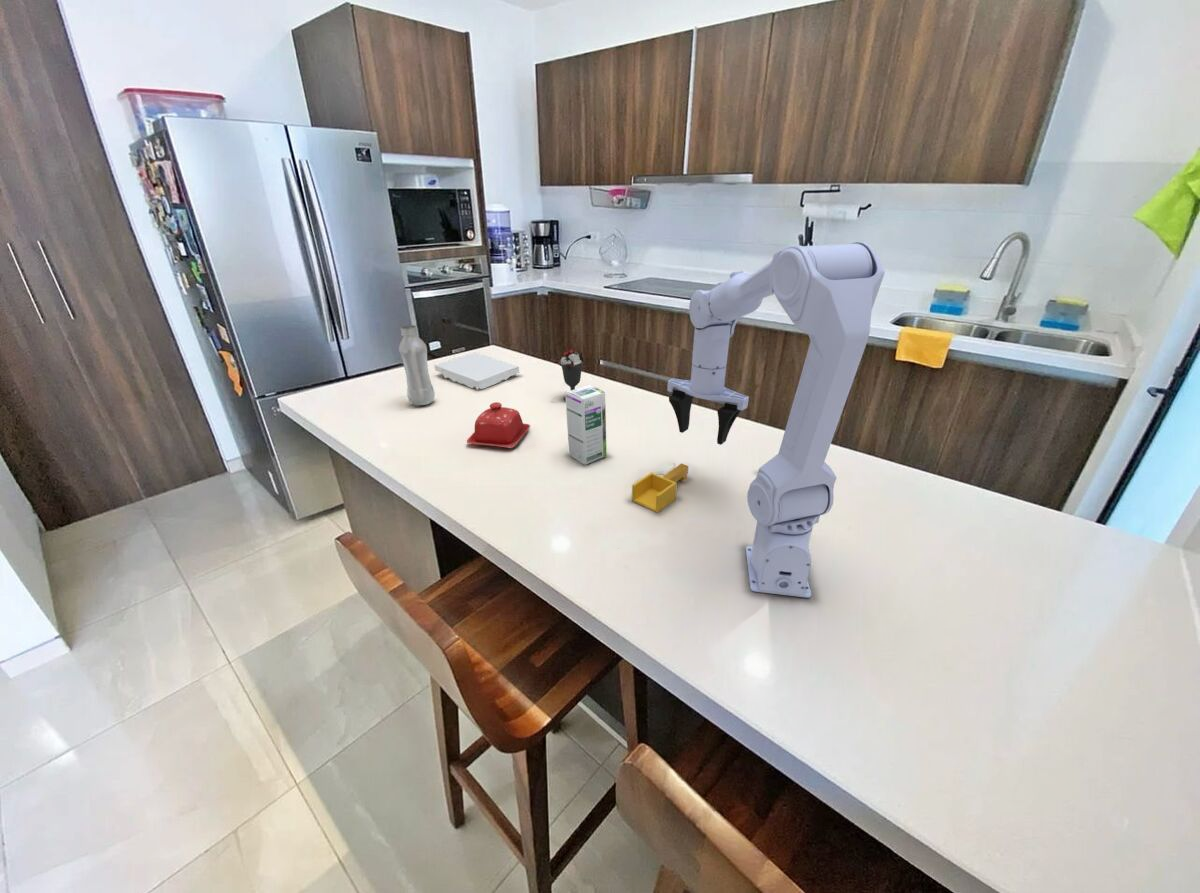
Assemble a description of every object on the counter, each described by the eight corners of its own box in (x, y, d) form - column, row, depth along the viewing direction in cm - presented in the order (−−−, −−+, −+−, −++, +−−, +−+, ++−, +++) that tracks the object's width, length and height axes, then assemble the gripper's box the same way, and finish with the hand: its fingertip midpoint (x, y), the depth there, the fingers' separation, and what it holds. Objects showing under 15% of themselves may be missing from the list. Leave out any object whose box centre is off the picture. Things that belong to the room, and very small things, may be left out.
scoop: (657, 512, 85) (658, 496, 84) (631, 501, 89) (632, 484, 87) (696, 483, 94) (698, 467, 92) (671, 473, 97) (672, 457, 95)
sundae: (556, 402, 129) (553, 345, 122) (565, 393, 135) (563, 338, 128) (580, 405, 127) (578, 347, 120) (588, 395, 133) (587, 340, 126)
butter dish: (464, 447, 107) (458, 411, 103) (487, 425, 117) (482, 391, 113) (513, 452, 105) (510, 416, 101) (533, 429, 115) (530, 395, 111)
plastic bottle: (408, 401, 131) (392, 325, 121) (434, 397, 133) (421, 322, 124) (410, 410, 126) (394, 331, 116) (438, 405, 128) (424, 328, 119)
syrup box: (585, 466, 100) (583, 398, 93) (567, 455, 104) (564, 390, 97) (607, 457, 103) (606, 391, 96) (589, 446, 107) (587, 383, 100)
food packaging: (519, 377, 147) (476, 362, 158) (518, 366, 146) (475, 352, 157) (479, 392, 137) (436, 375, 148) (478, 381, 136) (434, 365, 146)
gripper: (760, 366, 82) (749, 439, 88) (683, 350, 90) (678, 418, 96) (741, 377, 77) (731, 454, 83) (662, 360, 85) (659, 431, 92)
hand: (702, 436), depth 90 cm, fingers open, 7 cm apart
